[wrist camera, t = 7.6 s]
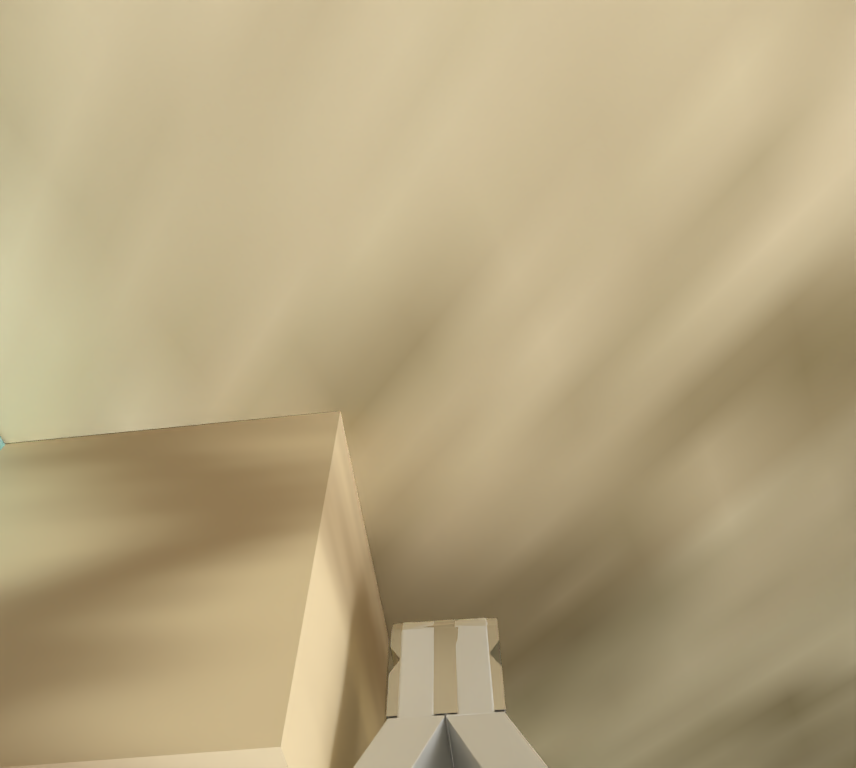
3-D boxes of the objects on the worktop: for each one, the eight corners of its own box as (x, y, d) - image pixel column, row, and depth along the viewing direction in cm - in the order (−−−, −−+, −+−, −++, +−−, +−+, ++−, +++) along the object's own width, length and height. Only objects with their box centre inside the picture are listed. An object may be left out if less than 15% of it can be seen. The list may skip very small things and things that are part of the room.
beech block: (339, 411, 12) (280, 746, 7) (388, 639, 15) (372, 986, 10) (4, 443, 12) (-289, 788, 7) (120, 661, 15) (-29, 1010, 10)
